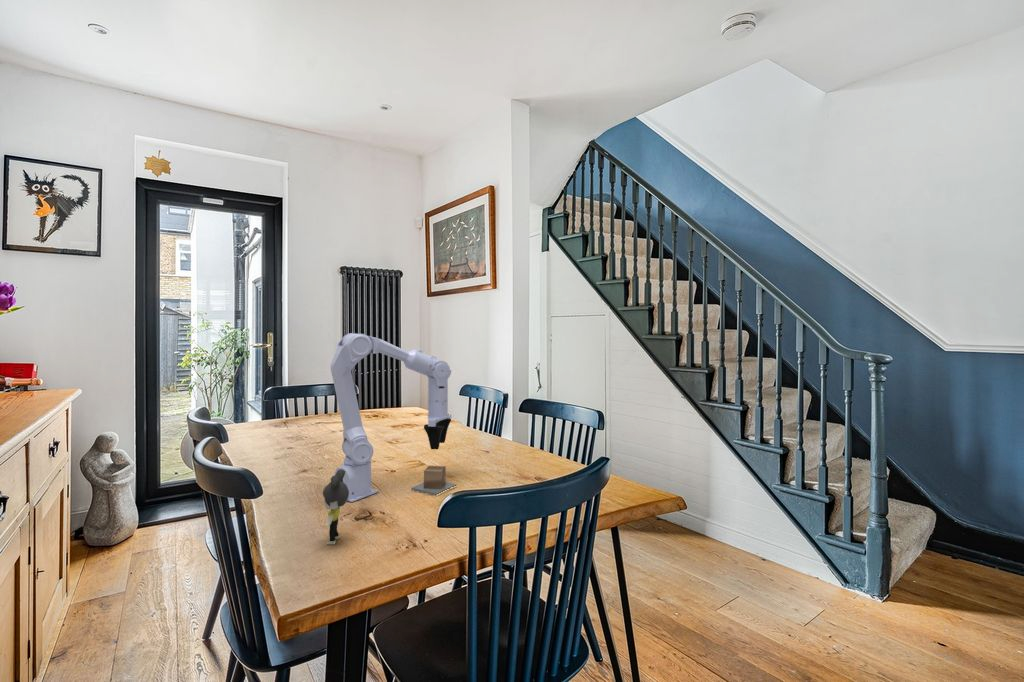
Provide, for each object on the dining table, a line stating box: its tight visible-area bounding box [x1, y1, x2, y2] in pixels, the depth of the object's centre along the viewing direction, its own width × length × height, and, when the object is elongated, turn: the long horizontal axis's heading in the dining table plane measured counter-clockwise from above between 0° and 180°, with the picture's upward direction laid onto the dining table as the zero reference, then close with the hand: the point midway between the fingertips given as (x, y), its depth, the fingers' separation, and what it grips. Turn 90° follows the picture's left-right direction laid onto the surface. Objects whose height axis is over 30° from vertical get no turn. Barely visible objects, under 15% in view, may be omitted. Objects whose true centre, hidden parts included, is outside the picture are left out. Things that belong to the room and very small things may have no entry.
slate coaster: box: [411, 481, 458, 496], centre depth 142 cm, size 9×9×1 cm
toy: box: [322, 469, 349, 545], centre depth 108 cm, size 8×5×15 cm, turn 4°
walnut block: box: [423, 465, 447, 489], centre depth 142 cm, size 5×5×5 cm
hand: (437, 445), depth 149 cm, fingers open, 7 cm apart
